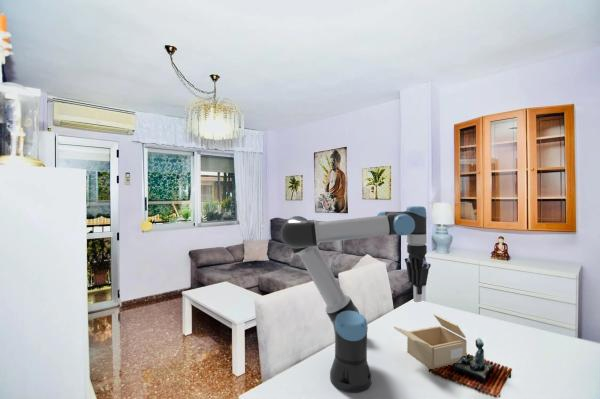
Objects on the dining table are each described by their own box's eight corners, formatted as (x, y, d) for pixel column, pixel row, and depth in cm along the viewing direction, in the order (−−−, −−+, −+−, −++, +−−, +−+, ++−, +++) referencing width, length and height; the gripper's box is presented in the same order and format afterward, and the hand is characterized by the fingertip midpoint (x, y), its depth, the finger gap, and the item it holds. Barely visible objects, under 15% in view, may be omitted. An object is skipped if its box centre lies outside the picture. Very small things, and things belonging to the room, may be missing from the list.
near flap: (428, 346, 118) (413, 341, 115) (406, 332, 129) (393, 327, 127) (428, 344, 118) (414, 339, 115) (407, 331, 129) (394, 326, 127)
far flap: (465, 338, 124) (456, 326, 122) (441, 325, 136) (433, 314, 134) (465, 337, 124) (457, 325, 122) (442, 324, 136) (434, 313, 134)
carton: (433, 371, 116) (433, 348, 116) (406, 351, 131) (406, 331, 131) (467, 363, 122) (468, 341, 122) (438, 344, 137) (438, 325, 137)
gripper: (436, 245, 117) (436, 305, 118) (413, 241, 130) (414, 295, 130) (420, 247, 115) (421, 308, 115) (399, 242, 127) (399, 297, 128)
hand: (417, 301), depth 123 cm, fingers closed
